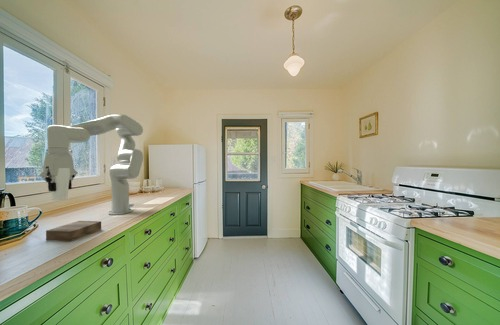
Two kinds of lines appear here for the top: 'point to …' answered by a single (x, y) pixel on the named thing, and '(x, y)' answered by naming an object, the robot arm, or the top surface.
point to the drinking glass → (61, 184)
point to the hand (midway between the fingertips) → (60, 189)
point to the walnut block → (73, 230)
